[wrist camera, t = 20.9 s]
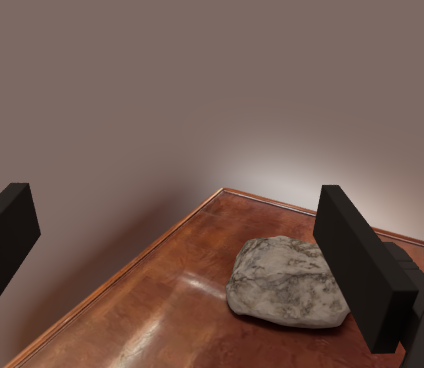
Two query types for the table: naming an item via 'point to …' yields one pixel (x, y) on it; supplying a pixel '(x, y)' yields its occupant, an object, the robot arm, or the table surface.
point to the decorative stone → (285, 284)
